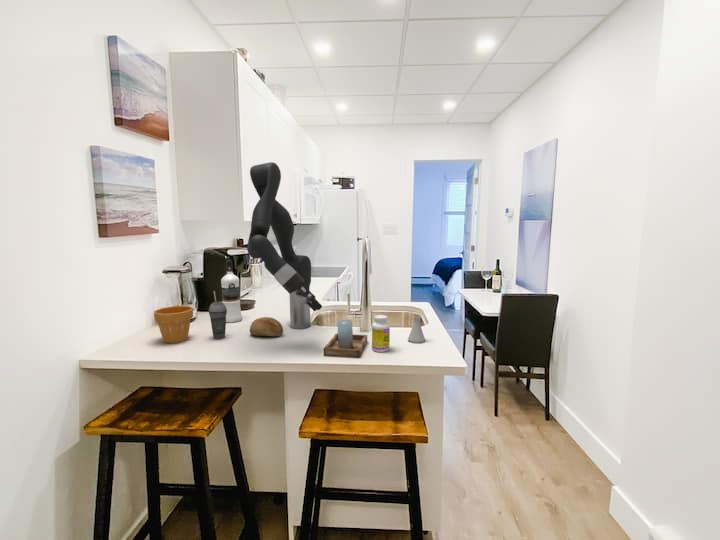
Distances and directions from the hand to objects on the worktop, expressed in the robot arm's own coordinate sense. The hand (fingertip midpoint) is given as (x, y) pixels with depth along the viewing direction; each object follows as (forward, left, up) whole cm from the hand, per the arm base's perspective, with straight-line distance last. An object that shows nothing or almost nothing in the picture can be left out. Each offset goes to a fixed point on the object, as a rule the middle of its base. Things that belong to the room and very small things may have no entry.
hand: (318, 309), depth 139 cm
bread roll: (-11, -27, -16) cm, 33 cm away
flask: (-14, +37, -15) cm, 42 cm away
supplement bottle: (-1, +24, -15) cm, 28 cm away
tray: (0, +11, -15) cm, 19 cm away
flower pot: (+2, -61, -15) cm, 63 cm away
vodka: (-30, -54, -15) cm, 64 cm away
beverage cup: (-4, -45, -15) cm, 48 cm away
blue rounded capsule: (+1, +11, -14) cm, 18 cm away
